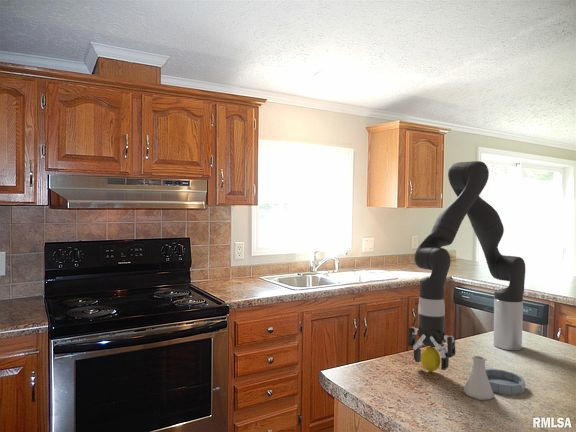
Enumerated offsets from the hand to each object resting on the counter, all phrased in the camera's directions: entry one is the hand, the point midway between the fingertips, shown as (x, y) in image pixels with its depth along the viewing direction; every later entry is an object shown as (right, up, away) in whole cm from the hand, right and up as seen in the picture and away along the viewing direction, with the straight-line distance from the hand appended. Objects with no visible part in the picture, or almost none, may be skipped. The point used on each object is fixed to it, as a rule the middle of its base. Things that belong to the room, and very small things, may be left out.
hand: (430, 365), depth 124 cm
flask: (+8, -3, -15) cm, 17 cm away
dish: (+17, -2, -9) cm, 19 cm away
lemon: (0, -2, 0) cm, 2 cm away
